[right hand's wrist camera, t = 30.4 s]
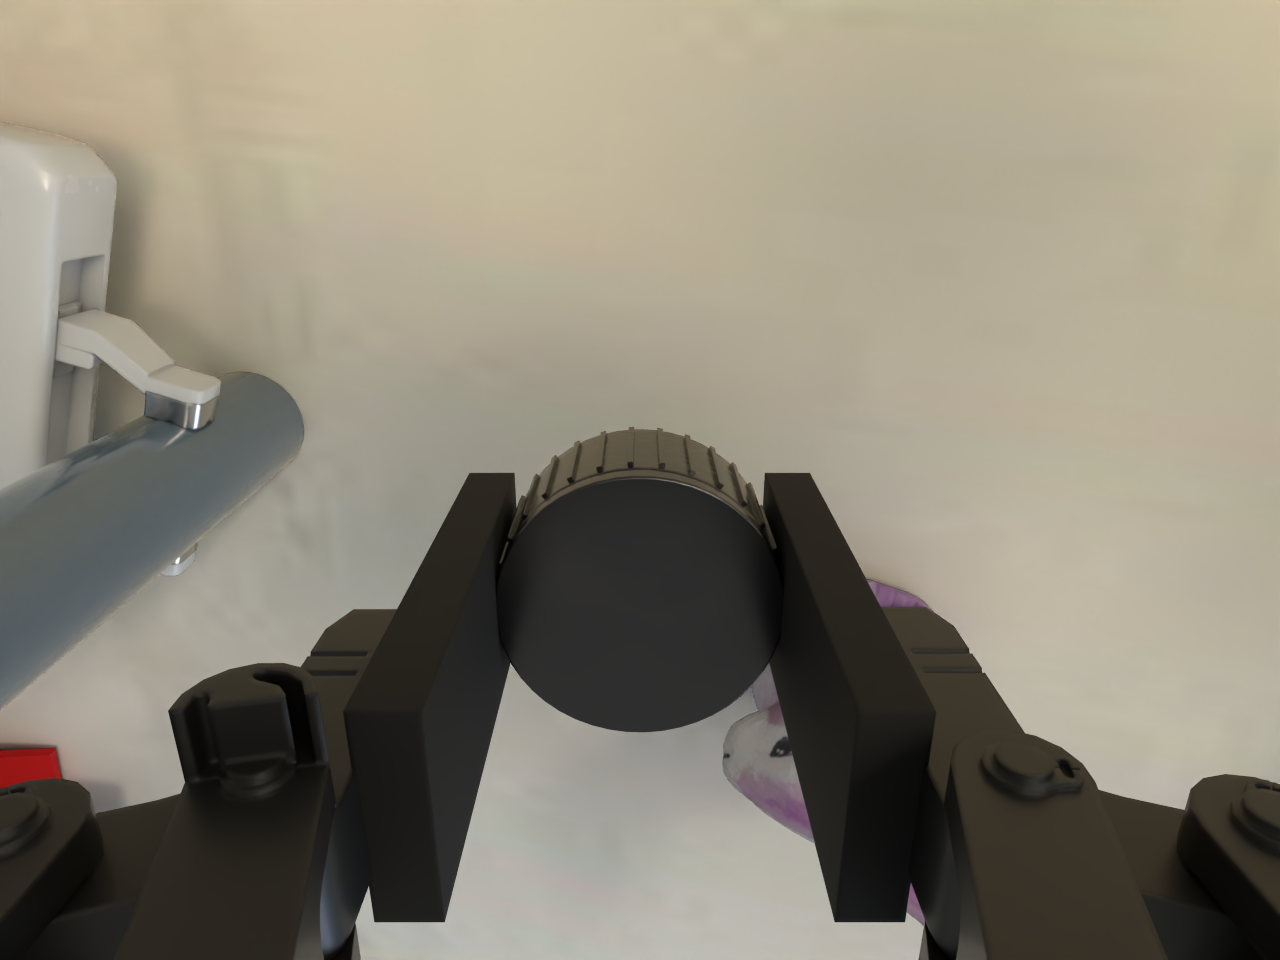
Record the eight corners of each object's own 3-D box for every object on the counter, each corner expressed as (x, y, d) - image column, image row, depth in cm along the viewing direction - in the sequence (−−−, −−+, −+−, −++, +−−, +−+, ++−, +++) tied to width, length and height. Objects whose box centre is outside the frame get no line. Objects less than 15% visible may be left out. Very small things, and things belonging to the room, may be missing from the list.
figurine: (693, 599, 39) (720, 847, 25) (911, 528, 38) (1068, 748, 24) (757, 757, 42) (812, 1056, 28) (960, 696, 41) (1124, 978, 27)
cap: (657, 370, 13) (660, 409, 11) (818, 563, 15) (848, 630, 13) (458, 530, 14) (427, 594, 12) (624, 698, 16) (621, 782, 14)
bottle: (326, 426, 36) (-245, 905, 13) (259, 493, 38) (-375, 1045, 14) (241, 348, 35) (-553, 723, 12) (175, 420, 36) (-668, 892, 13)
